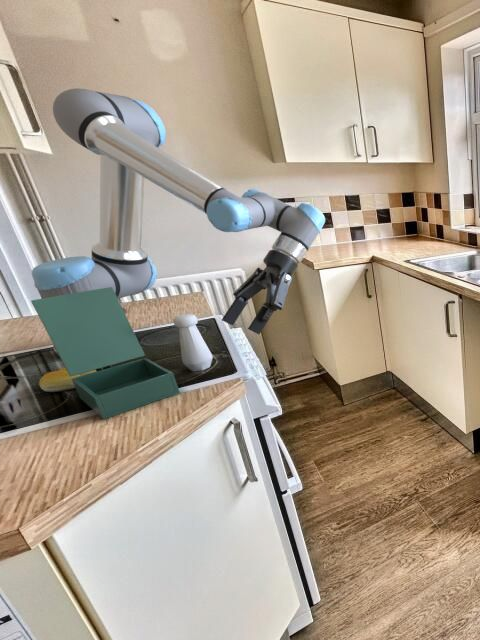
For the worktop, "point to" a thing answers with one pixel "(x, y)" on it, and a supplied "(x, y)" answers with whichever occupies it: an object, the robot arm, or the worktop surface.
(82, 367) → the box lid
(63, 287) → the robot arm
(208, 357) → the salt shaker
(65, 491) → the worktop surface
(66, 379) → the yellow rounded piece
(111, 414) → the box
